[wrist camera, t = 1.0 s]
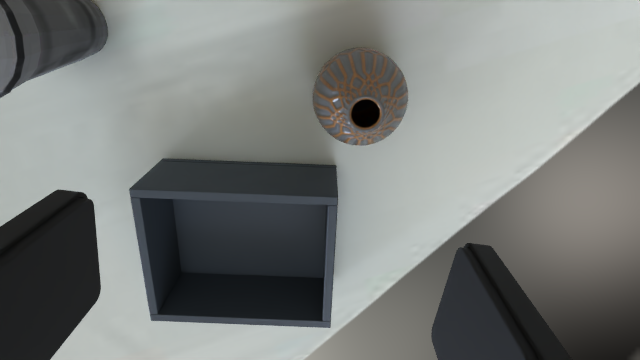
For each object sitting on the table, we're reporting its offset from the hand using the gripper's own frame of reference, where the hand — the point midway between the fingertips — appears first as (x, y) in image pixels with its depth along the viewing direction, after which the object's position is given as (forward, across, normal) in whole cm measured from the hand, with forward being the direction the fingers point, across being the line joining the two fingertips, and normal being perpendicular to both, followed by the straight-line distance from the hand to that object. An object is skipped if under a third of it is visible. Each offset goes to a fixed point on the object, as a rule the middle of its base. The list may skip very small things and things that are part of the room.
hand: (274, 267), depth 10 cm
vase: (+25, -4, -1) cm, 25 cm away
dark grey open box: (+25, +4, +13) cm, 28 cm away
